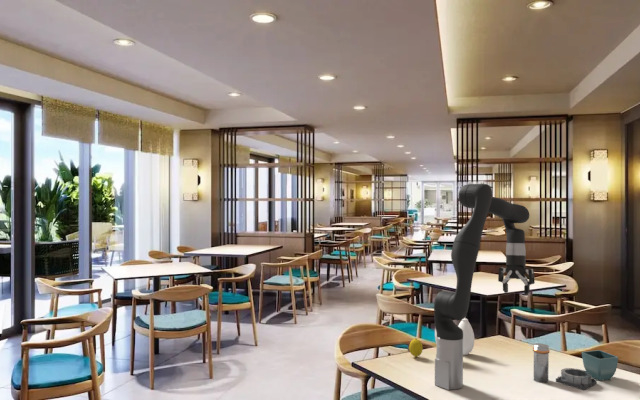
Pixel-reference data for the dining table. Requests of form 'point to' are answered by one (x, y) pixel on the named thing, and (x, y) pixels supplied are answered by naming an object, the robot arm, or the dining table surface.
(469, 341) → the sauce bottle
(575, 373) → the duct flange
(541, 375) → the grey travel mug
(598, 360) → the flower pot
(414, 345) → the lemon
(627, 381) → the dining table surface
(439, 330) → the robot arm
